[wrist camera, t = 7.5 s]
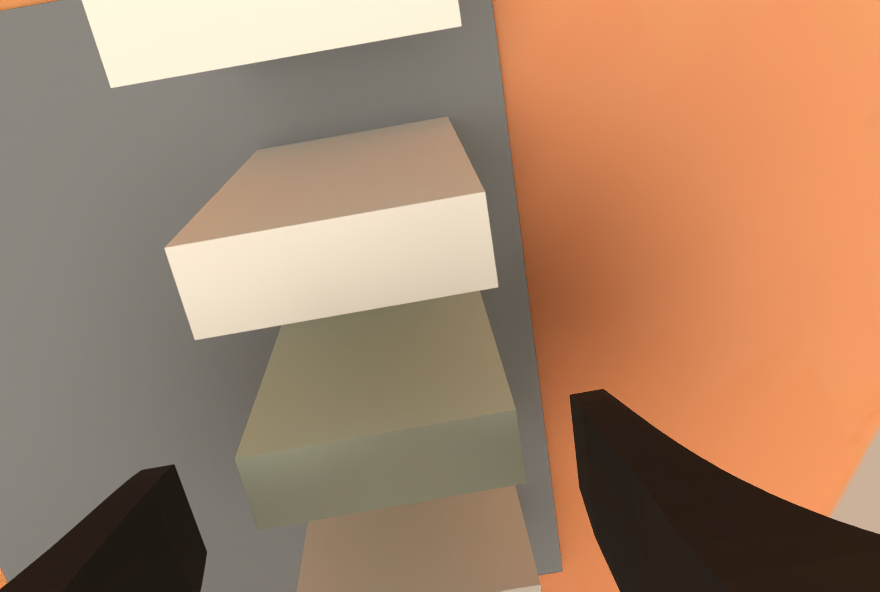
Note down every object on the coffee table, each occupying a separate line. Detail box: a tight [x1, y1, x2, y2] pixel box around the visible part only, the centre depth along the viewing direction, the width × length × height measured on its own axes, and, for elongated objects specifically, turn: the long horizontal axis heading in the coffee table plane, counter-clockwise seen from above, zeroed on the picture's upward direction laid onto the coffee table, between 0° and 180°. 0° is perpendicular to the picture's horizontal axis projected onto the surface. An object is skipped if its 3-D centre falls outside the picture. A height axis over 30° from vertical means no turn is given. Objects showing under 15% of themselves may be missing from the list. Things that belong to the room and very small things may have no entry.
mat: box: [0, 0, 563, 592], centre depth 21 cm, size 20×18×1 cm
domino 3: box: [296, 485, 541, 592], centre depth 18 cm, size 2×5×8 cm, turn 99°
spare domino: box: [235, 291, 527, 530], centre depth 16 cm, size 2×5×8 cm, turn 99°
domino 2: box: [164, 117, 498, 340], centre depth 15 cm, size 2×5×8 cm, turn 99°
